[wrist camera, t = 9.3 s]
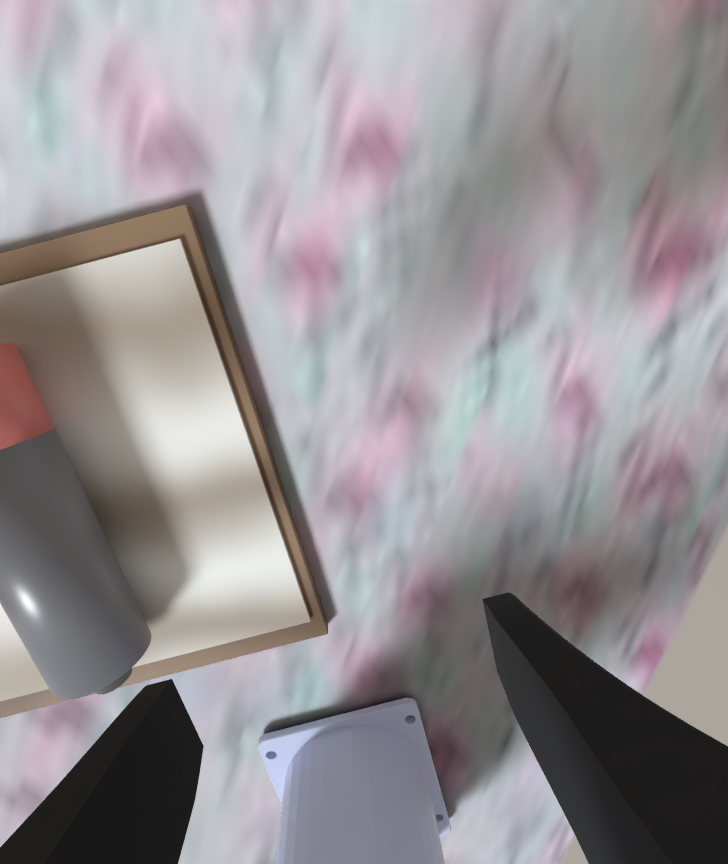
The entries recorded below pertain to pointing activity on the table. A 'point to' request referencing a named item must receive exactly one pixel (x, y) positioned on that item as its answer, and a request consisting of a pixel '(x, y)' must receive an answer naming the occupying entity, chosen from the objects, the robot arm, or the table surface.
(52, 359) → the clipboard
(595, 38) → the table surface
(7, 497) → the marker
